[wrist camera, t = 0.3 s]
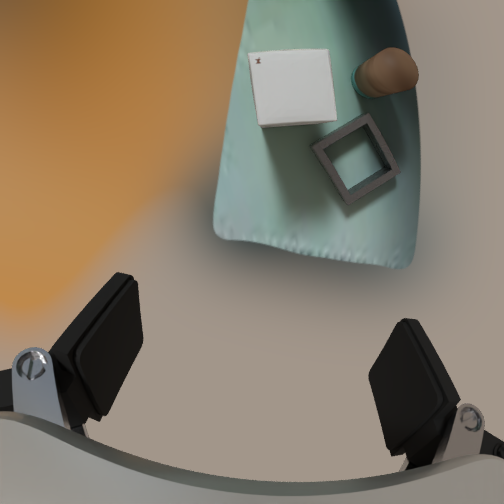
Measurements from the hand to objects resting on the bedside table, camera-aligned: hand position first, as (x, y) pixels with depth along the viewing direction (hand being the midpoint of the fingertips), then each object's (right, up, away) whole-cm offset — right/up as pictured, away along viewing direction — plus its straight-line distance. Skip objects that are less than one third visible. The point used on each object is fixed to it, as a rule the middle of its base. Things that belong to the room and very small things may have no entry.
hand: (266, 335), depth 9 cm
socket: (+13, +16, +25) cm, 32 cm away
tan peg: (+15, +26, +20) cm, 36 cm away
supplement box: (+4, +22, +23) cm, 32 cm away
